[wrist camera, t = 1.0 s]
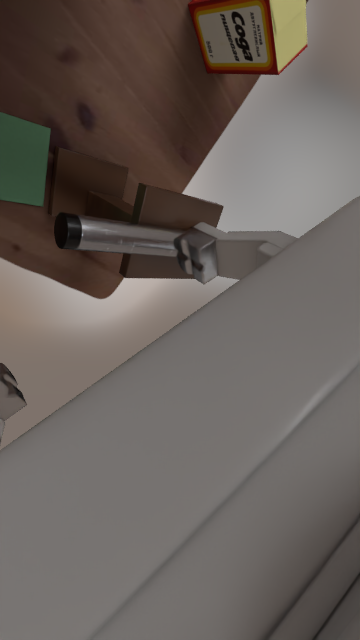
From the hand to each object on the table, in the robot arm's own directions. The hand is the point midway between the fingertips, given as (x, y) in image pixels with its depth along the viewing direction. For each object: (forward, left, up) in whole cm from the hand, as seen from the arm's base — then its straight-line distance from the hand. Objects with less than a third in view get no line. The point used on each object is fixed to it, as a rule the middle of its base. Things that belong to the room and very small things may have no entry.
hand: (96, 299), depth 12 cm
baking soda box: (-27, +36, -42) cm, 62 cm away
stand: (+2, +19, -42) cm, 47 cm away
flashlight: (+2, +15, -17) cm, 23 cm away
